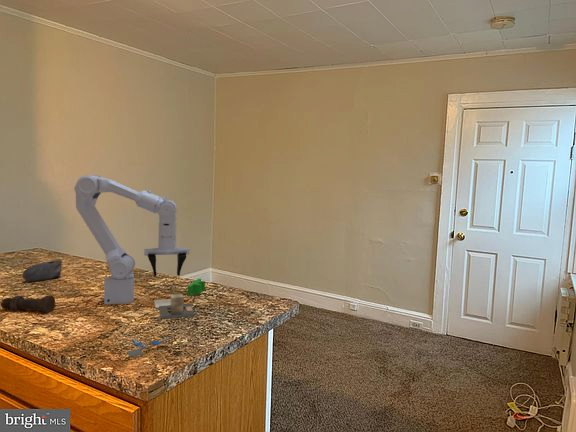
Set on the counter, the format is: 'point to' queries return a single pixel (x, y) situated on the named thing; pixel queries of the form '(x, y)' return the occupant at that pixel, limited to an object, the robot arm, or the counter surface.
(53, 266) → the perforated stone tool
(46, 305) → the dark brown elongated lump
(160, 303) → the white rectangular plate
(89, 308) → the counter surface
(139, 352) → the key chain
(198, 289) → the pipe clamp
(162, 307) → the plate
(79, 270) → the counter surface
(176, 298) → the birch peg
